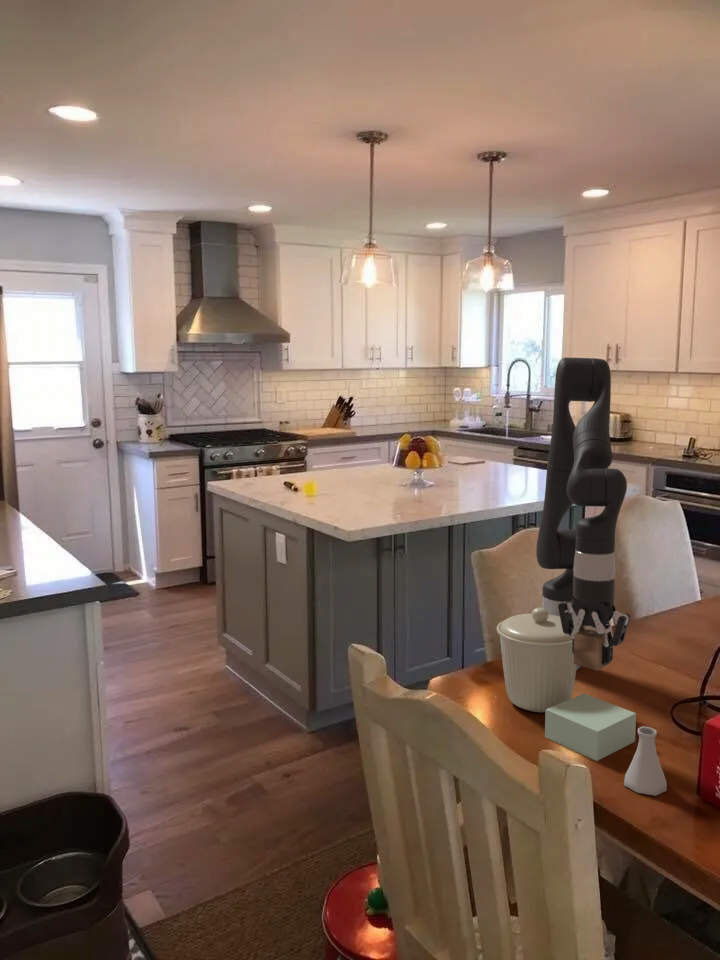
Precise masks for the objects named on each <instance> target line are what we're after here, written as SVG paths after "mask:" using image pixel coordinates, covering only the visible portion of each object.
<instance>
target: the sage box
mask: <svg viewBox="0 0 720 960" xmlns="http://www.w3.org/2000/svg"><path fill="white" fill-rule="evenodd" d="M544 716H545V717H544V719H545V720H544V738H545V739H547V740H550V741H553V742H554V743H556V744H559V745H561V746H563V747H565V748H567V749H570V750H572V751H573V752H576V753H578V754H580V755H583V756H585V757H587V758H589V759H591V760H594V761H595V762H598V761H600V760H602V759H604V758H606V757H608V756H610V755H611V754H614V753H615V752H617V751H619V750H622V749H623V748H625V747H627V746H630V745H631V744H633V743H635V742H636V727H637V726H636V724H637V723H636V721H637V713H636V712H635V711H631V710H628V709H625V708H623V707H621V706H618V705H616V704H612V703H610V702H607V701H605V700H602V699H599V698H597V697H594V696H592V695H589V694H586V693H582V694H579V695H577V696H574V697H571V699H569V700H567V701H565V702H562V703H560V704H557V705H555V706H553V707H550V708H548V709H545V712H544Z"/></svg>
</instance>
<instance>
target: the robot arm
mask: <svg viewBox="0 0 720 960" xmlns="http://www.w3.org/2000/svg"><path fill="white" fill-rule="evenodd" d="M611 375H612V374H611V367H610V365H609V363H608V362H607V360H605V359H603V358H595V357H562V358H561V359H560V360H559V362H558V363H557V366H556V370H555V377H554V378H555V379H554V393H553V394H554V395H553V396H554V397H553V399H554V400H553V412H552V413H553V415H552V428H551V435H550V436H551V437H550V444H549V449H548V452H549V453H548V456H547V457H548V458H547V464H546V465H547V467H546V475H545V477H546V479H545V491H544V499H543V507H542V514H541V520H540V523H539V529H538V534H537V539H536V553H535V554H536V561H537V564H538V566H539V567H541V568H542V569H544V570H565V571H563V573H561V574H559V575H558V576H556V577H554V578H552V579H549V580H547V581H546V582H544V583H543V585H542V598H541V599H542V600H541V601H542V603H541V605H542V606H541V608H544V609H546V610H547V611H548V613H549V615H555V616H559V617H560V619H561V624H562V629H563V633H564V634H569V635H570V636H571V637H572V652H573V654H574V634H575V633H577V632H580V631H581V630H584V629H585V628H586V627H591V628H593V629H597V632H598V634H599V635H600V637H601V638H602V643H603V646H602V665H606V666H608V665H609V663H610V664H611V662H612V661H613V659H614V647H617V646H619V645H620V644H622V643H623V642H624V640H625V637H626V635H627V634H626V633H627V631H628V627H629V623H630V620H631V615H630V614H629V613H625V614H624V613H621V612H619V611H618V610H617V609H616V606H615V604H614V602H615V594H616V593H615V592H616V591H615V590H616V588H615V587H616V555H615V544H616V529H617V528H616V527H617V522H618V518H619V516H620V515H619V514H620V511H621V509H622V506H623V503H624V500H625V497H626V494H627V490H628V482H627V478H626V476H625V474H624V473H623V472H622V471H621V470H620V469H617V468H609V467H610V466H611V464H612V462H613V450H612V444H611V443H612V442H611V436H610V435H611V434H610V417H611V395H612V394H611V393H612V392H611V390H612V389H611V388H612V387H611V386H612V377H611ZM570 402H585V403H586V402H587V403H593V404H592V406H591V407H590V408H589V410H587V412H586V413H585V414H584V415H583V416H582V417H581V418H580V419H579V421H578V423H576V425H575V423H574V420H573V418H572V415H571V412H570V406H569V405H570ZM573 505H575V506H577V507H604V508H603V510H602V512H601V513H600V514H597V515H594V516H591V517H584V518H582V519H580V520H578V521H577V523H576V525H575V529H559V527H560V525H561V521H562V520H563V518H564V516H565V515H566V513H567V512H568V511H569V509H571V507H572V506H573ZM613 618H614V624H615V625H616V626H615V630H614V633H613V627H612V626H613V625H612V623H611V620H612V619H613ZM573 622H574V623H575V624H574V623H573ZM607 664H608V665H607ZM581 667H582V666H579V665H577V669H576V671H577V670H579V669H580V668H581Z"/></svg>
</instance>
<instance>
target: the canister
mask: <svg viewBox="0 0 720 960" xmlns="http://www.w3.org/2000/svg"><path fill="white" fill-rule="evenodd" d="M573 623H574V622H573ZM574 624H575V623H574ZM496 632H497V634H498V635H499V638H500V641H499V642H500V647H501V648H500V649H501V659H502V669H503V676H504V684H505V690H506V695H507V697H508V699H509V700H510V701H511V703H512V704H513V705H515V706H516V707H517V708H519V709H523V710H526V711H529V712H534V713H544V714H545V709H548V708H550V707H553V706H555V705H557V704H560V703H562V702H565V701H567V700H569V699H572V698H573V692H574V687H575V681H576V675H577V670H576V669H577V665H575V664H574V654H573V652H572V637H571V636H570V635H569V634H564V633H563V629H562V624H561V619H560V617H559V616H555V615H549V613H548V611H547V610H546V609H544V608H542V607H535V608H534V609H532V611H531V613H522V614H515V615H513V616H509V617H508V618H506V619H504V620H502V621H500V622H499V623H497V626H496Z"/></svg>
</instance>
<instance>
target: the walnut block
mask: <svg viewBox="0 0 720 960" xmlns="http://www.w3.org/2000/svg"><path fill="white" fill-rule="evenodd" d="M602 646H603V643H602V638H601V637H600V635H599V634H598V632H597V628H593V627H589V626H586V628H585V629H584V630H581V631H580V632H577V633H575V634H574V664H575V665H579V666H581V667H583V668H586V669H589V670H590V669H591V670H594V671H599V670H601V669H603V668H605V667H606V666H608V665H609V664H611V662H610V663H609V664H607V665H602Z"/></svg>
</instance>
